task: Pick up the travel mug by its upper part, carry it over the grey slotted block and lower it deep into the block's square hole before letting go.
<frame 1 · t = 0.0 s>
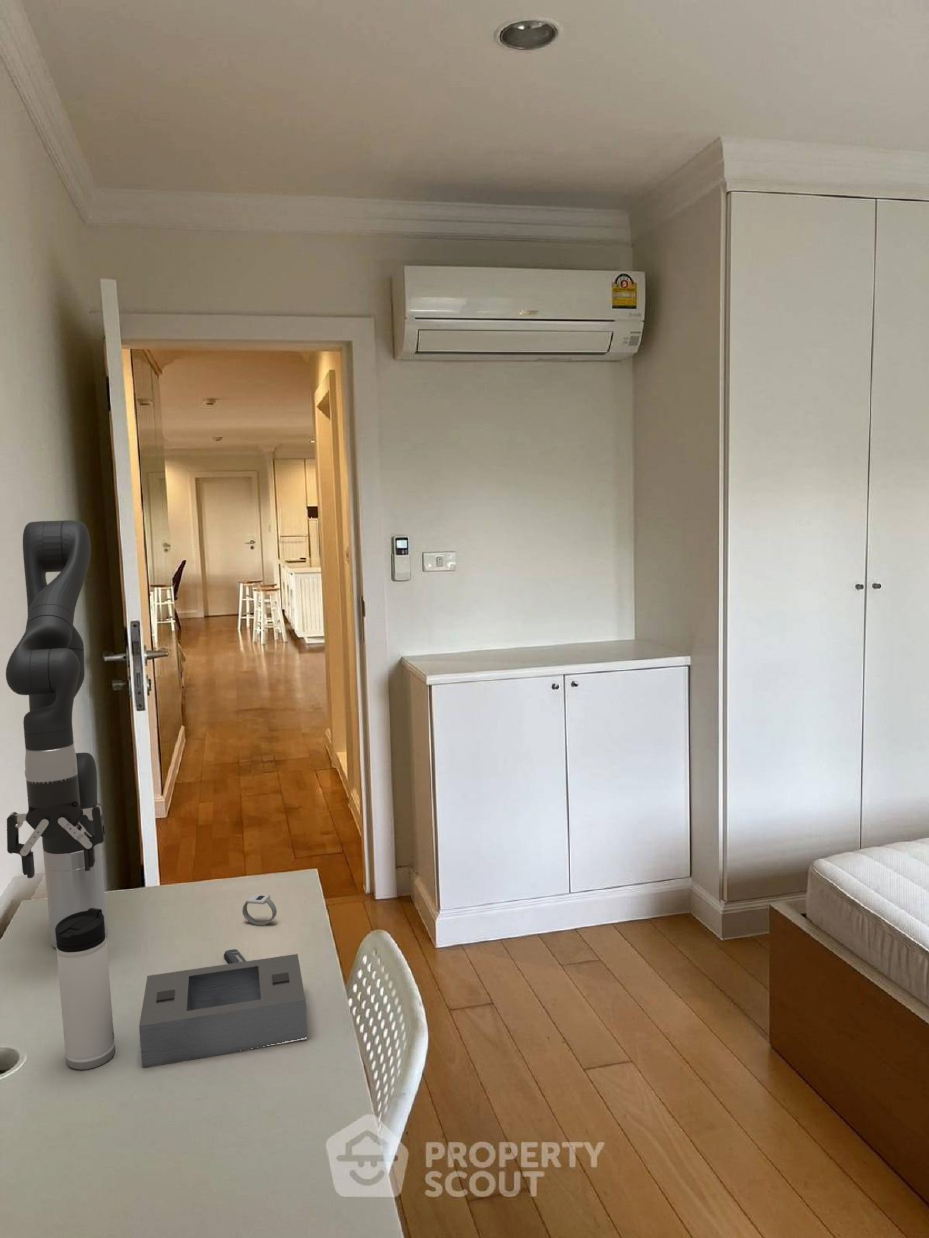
hand: (59, 873, 148), 17 cm above the table, tool pointing down, fingers open, 8 cm apart
wristwatch: (260, 924, 167), on the table
travel mug: (92, 1057, 127), on the table
usb stick: (239, 969, 152), on the table
grey slotted block: (226, 1026, 134), on the table
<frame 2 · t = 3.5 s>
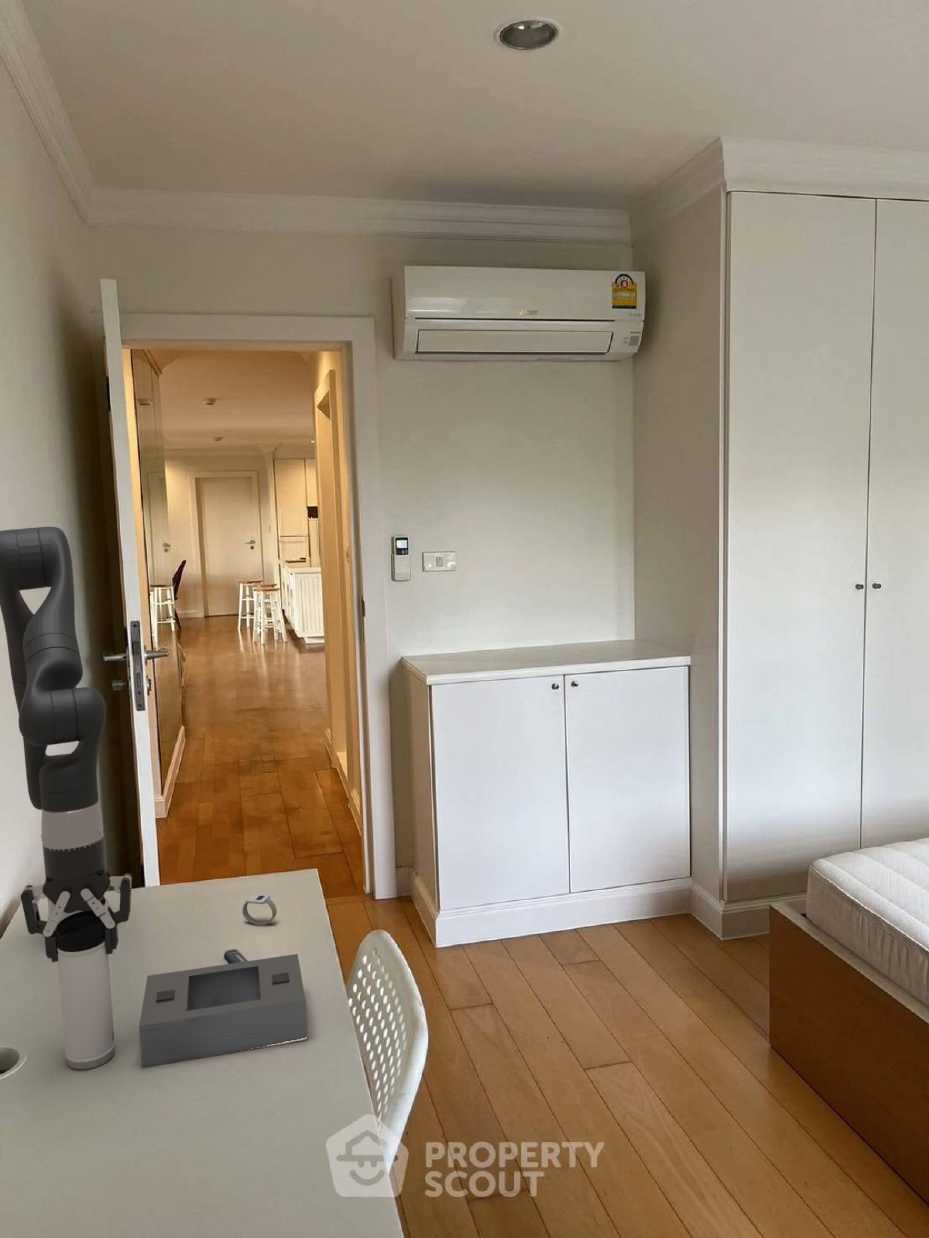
hand: (83, 954, 126), 15 cm above the table, tool pointing down, fingers closed on travel mug, 6 cm apart
travel mug: (91, 1057, 127), on the table, touching gripper
everything else where it was.
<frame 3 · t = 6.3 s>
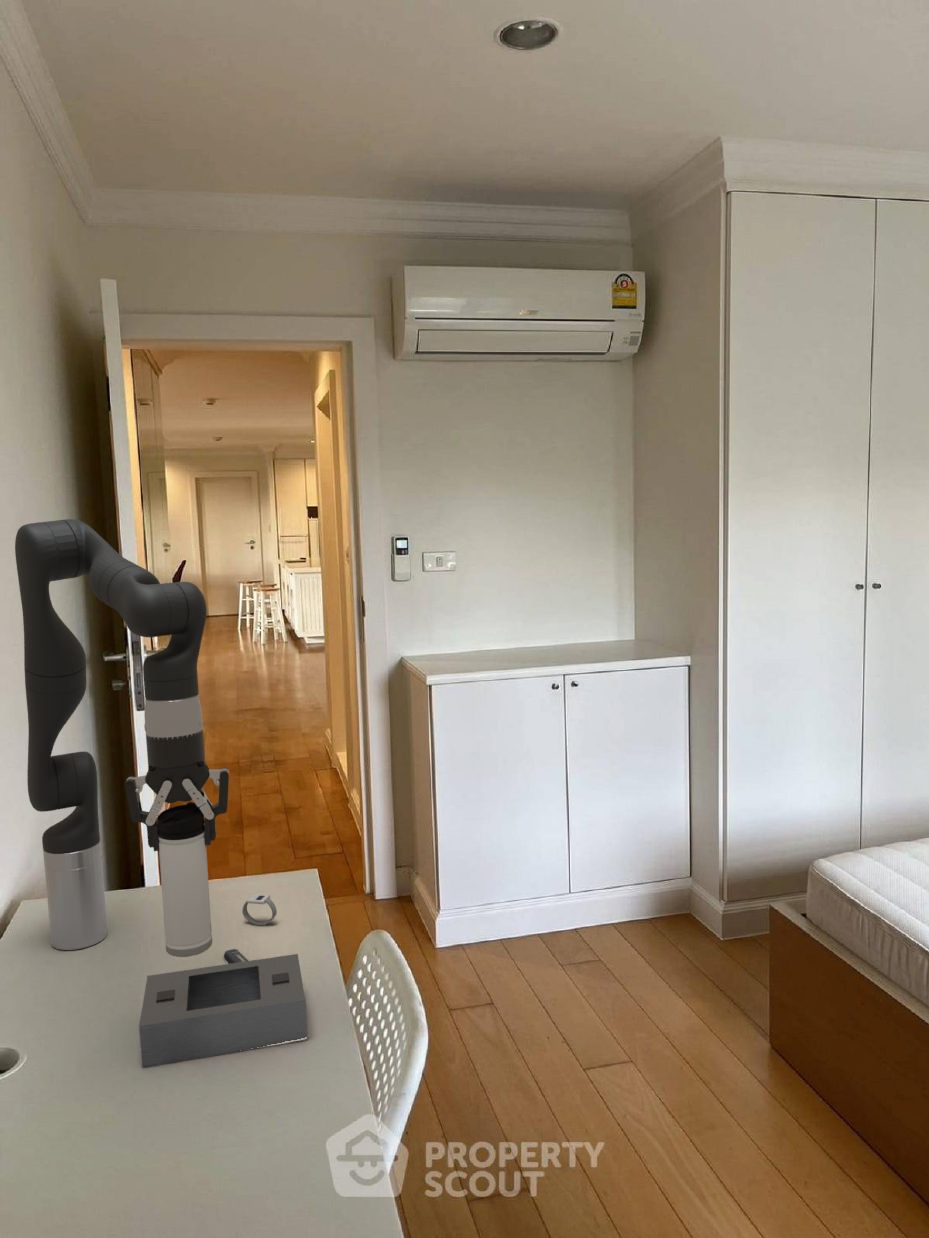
hand: (182, 845, 129), 28 cm above the table, tool pointing down, fingers closed on travel mug, 6 cm apart
travel mug: (190, 947, 130), point 13 cm above the table, touching gripper
everything else where it was.
when the fingers open (16 cm above the table, at t = 9.3 s): travel mug drops 2 cm, resting in grey slotted block.
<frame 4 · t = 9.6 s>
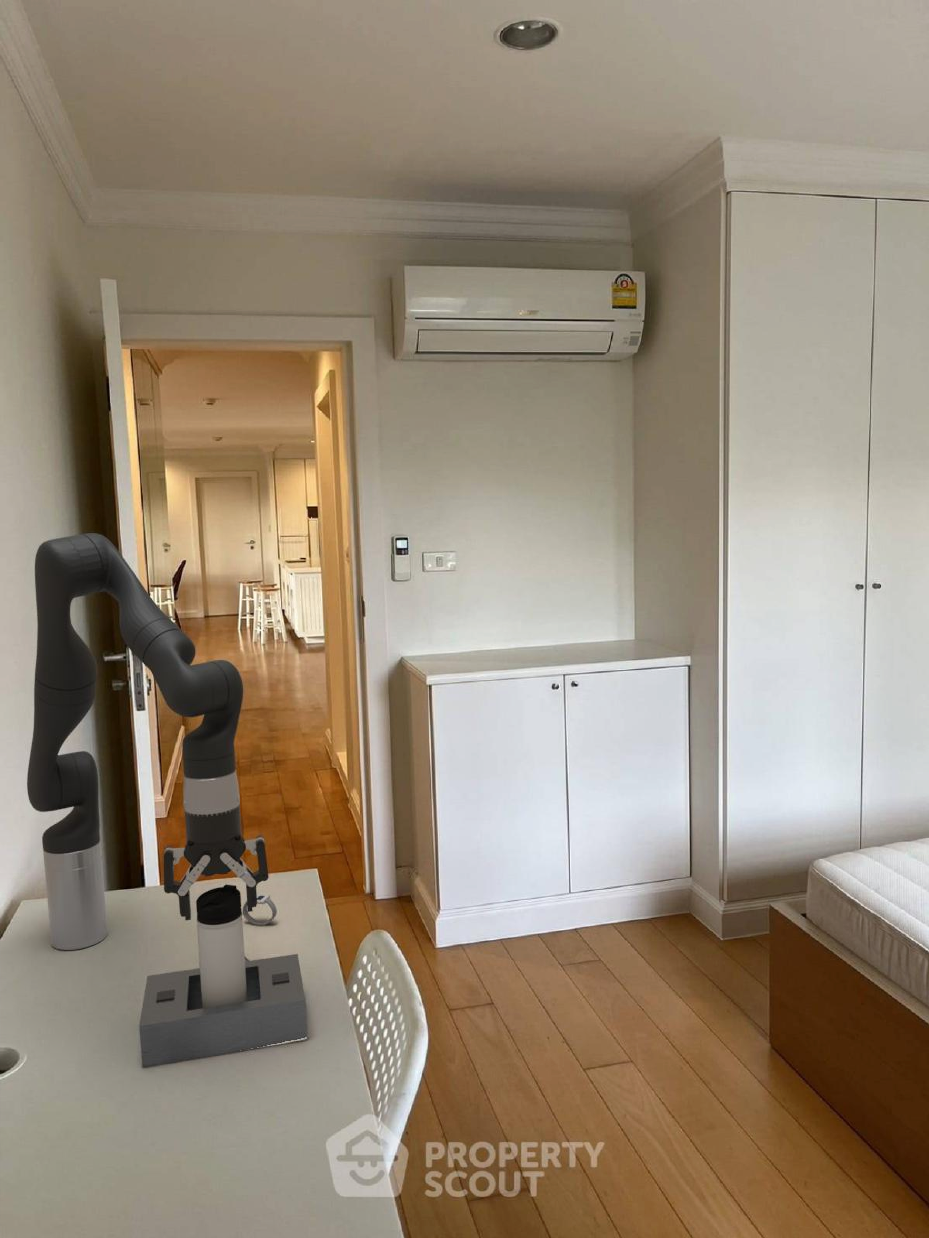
hand: (219, 913, 132), 17 cm above the table, tool pointing down, fingers open, 8 cm apart
travel mug: (227, 1027, 134), resting in grey slotted block
everything else where it was.
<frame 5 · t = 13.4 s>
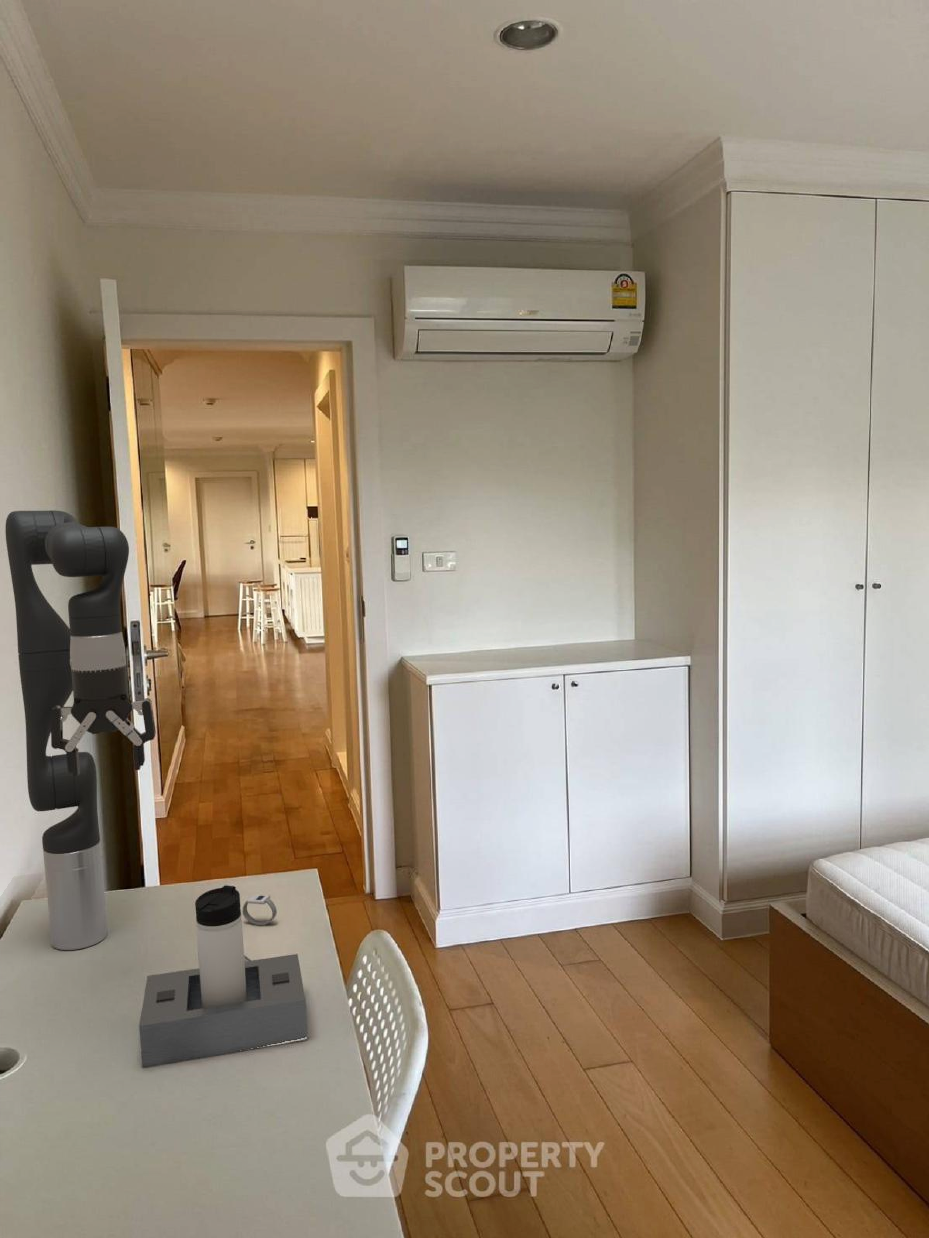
hand: (107, 771, 137), 36 cm above the table, tool pointing down, fingers open, 8 cm apart
nothing on the table moved.
at the end: travel mug 0.1 cm off-centre on the grey slotted block, point 0.0 cm above the grey slotted block's base; travel mug tilted 0°; the gripper is holding nothing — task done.
